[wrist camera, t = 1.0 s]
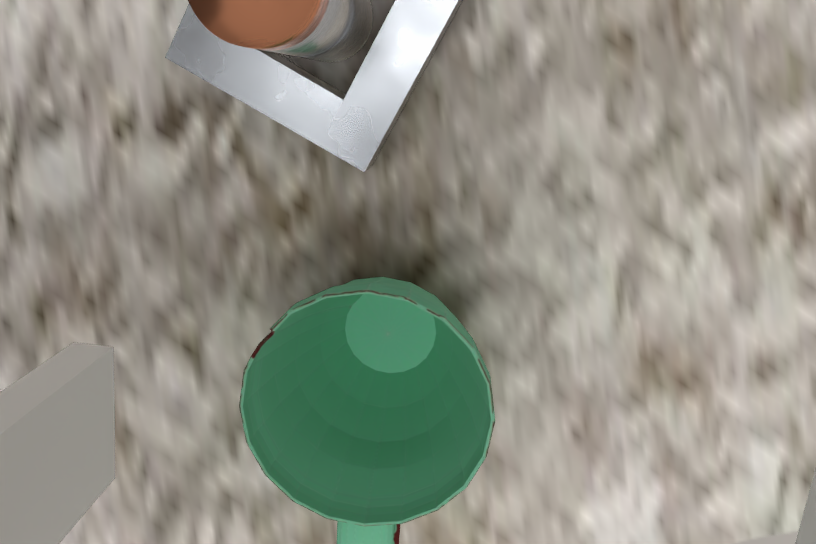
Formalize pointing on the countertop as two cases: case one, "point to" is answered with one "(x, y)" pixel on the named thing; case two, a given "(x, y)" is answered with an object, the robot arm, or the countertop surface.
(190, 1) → the pin
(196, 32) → the block
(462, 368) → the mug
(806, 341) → the countertop surface
